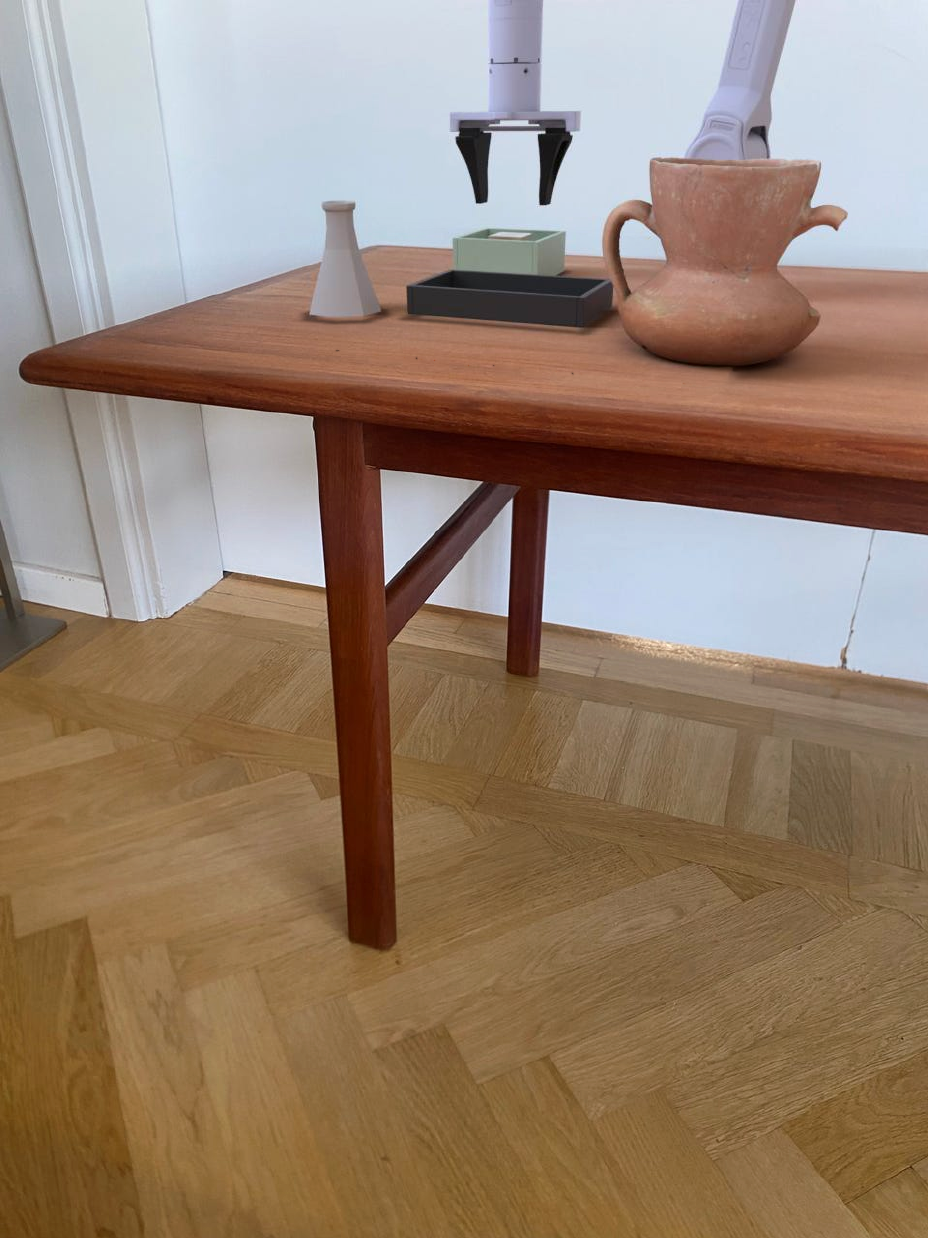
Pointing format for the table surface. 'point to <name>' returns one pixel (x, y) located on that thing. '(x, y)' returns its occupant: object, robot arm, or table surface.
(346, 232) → the flask
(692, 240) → the ceramic jug
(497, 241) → the bin
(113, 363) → the table surface
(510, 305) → the pan
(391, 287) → the table surface
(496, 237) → the block
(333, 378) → the table surface
